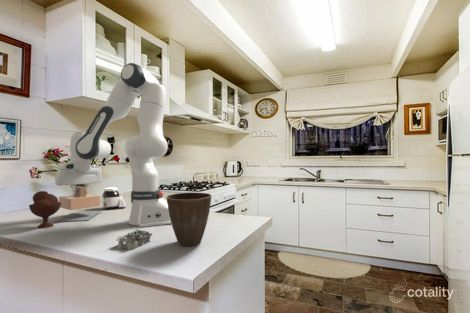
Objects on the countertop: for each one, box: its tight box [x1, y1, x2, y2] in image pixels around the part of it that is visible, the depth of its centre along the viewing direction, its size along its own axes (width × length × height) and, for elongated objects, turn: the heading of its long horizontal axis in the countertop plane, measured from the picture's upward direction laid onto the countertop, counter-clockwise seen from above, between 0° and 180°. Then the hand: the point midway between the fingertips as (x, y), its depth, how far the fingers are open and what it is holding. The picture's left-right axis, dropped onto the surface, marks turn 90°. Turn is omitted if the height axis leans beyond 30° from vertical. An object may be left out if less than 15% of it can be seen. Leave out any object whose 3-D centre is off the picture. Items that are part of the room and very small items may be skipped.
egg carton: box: [115, 228, 154, 251], centre depth 85 cm, size 11×8×4 cm
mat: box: [53, 211, 102, 223], centre depth 124 cm, size 14×18×1 cm
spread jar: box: [101, 186, 127, 211], centre depth 145 cm, size 12×11×12 cm
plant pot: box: [166, 192, 212, 248], centre depth 86 cm, size 15×15×16 cm
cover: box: [58, 186, 101, 211], centre depth 124 cm, size 13×13×10 cm
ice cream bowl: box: [28, 190, 61, 229], centre depth 107 cm, size 11×11×15 cm
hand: (79, 193), depth 124 cm, fingers closed on cover, 3 cm apart
